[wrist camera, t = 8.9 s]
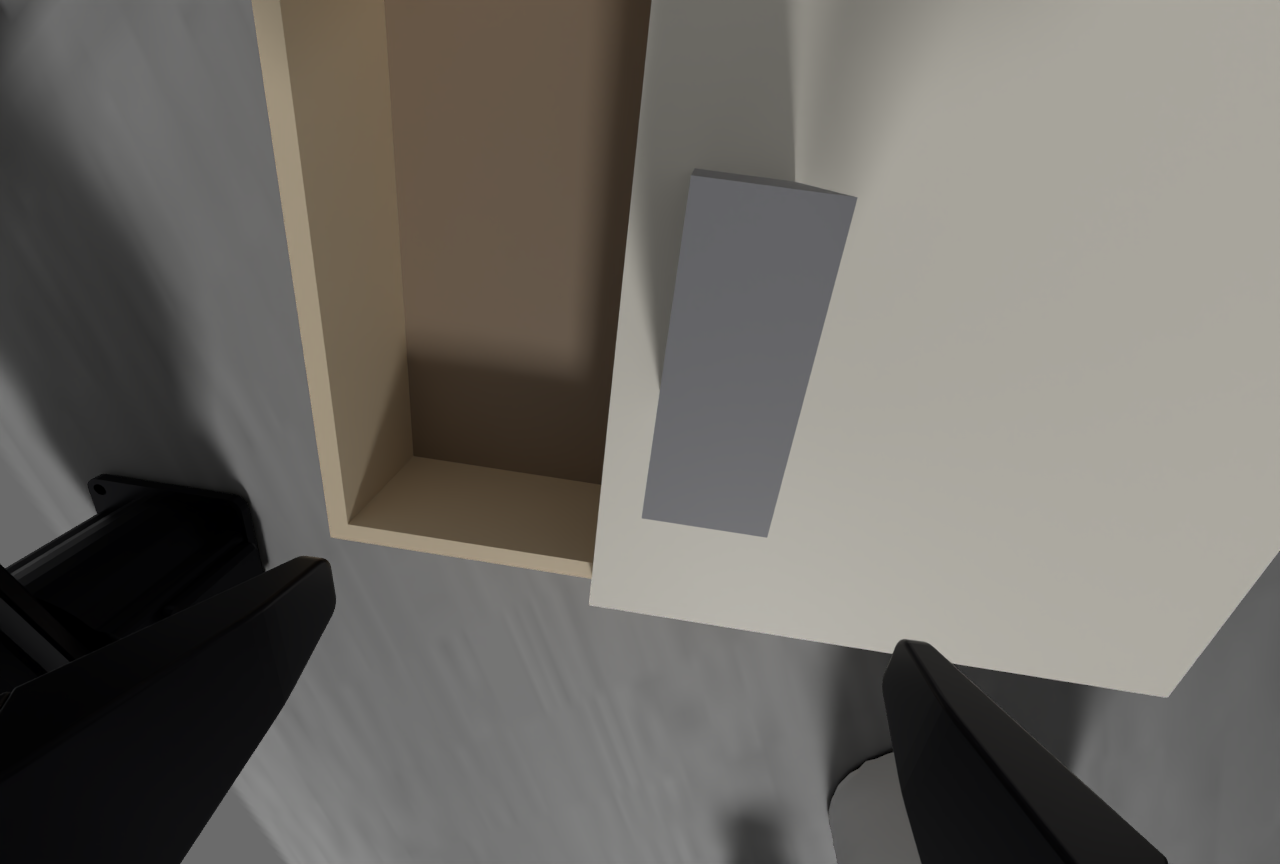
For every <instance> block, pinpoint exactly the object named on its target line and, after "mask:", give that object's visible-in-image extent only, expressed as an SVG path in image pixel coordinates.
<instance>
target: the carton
mask: <svg viewBox="0 0 1280 864" xmlns="http://www.w3.org/2000/svg"><path fill="white" fill-rule="evenodd" d="M651 2H652V0H252V7H253V14H254V21H255V27H256V34H257V41H258V48H259V55H260V61H261V68H262V75H263V82H264V88H265V95H266V102H267V109H268V115H269V122H270V129H271V136H272V143H273V149H274V156H275V163H276V170H277V176H278V183H279V190H280V197H281V204H282V210H283V217H284V224H285V231H286V237H287V244H288V251H289V258H290V264H291V271H292V278H293V285H294V292H295V298H296V305H297V312H298V319H299V325H300V332H301V339H302V346H303V353H304V359H305V366H306V373H307V380H308V386H309V393H310V400H311V407H312V414H313V420H314V427H315V434H316V441H317V447H318V454H319V461H320V468H321V474H322V481H323V488H324V495H325V502H326V508H327V515H328V522H329V529H330V535H331V538H338V539H344V540H350V541H357V542H363V543H369V544H376V545H382V546H388V547H395V548H401V549H407V550H413V551H420V552H426V553H432V554H439V555H445V556H451V557H458V558H464V559H470V560H476V561H483V562H489V563H495V564H502V565H508V566H514V567H521V568H527V569H533V570H540V571H546V572H552V573H558V574H565V575H571V576H577V577H584V578H590V579H592V571H593V561H594V551H595V542H596V532H597V522H598V513H599V503H600V493H601V484H602V474H603V465H604V455H605V445H606V436H607V426H608V416H609V407H610V397H611V387H612V378H613V368H614V359H615V349H616V339H617V330H618V320H619V310H620V301H621V291H622V281H623V272H624V262H625V253H626V243H627V233H628V224H629V214H630V204H631V195H632V185H633V175H634V166H635V156H636V147H637V137H638V127H639V118H640V108H641V98H642V89H643V79H644V69H645V60H646V50H647V41H648V31H649V21H650V12H651Z"/></svg>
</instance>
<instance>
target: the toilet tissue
mask: <svg viewBox="0 0 1280 864" xmlns="http://www.w3.org/2000/svg"><path fill="white" fill-rule="evenodd" d="M829 825H830V829H831V833H832V838H833V846H834V849H835V854H836V859H837V864H921V861H920V857H919V854H918V850H917V847H916V844H915V840H914V837H913V833H912V830H911V826H910V823H909V819H908V816H907V812H906V809H905V805H904V801H903V797H902V793H901V788H900V784H899V779H898V774H897V768H896V763H895V757H894V752H892V753H889V754H886V755H883V756H881V757H879V758H877V759H873V760H869V761H865V763H864V764H863V765H862V766H861V767H860V768H859V769H857V770H855V771H853V772H851V773H850V774H849V775H848V776H847V777H846V778H845V779H844V780H843V781H842V782H841V783H840V784H839V785H838V787H837V789H836V791H835V794H834V796H833V797H832V800H831V804H830V808H829Z"/></svg>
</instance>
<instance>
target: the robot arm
mask: <svg viewBox="0 0 1280 864" xmlns="http://www.w3.org/2000/svg"><path fill="white" fill-rule="evenodd" d="M88 489H89V492H90V494H91V497H92V500H93V503H94V505H95V508H96V511H97V515H95V516H93V517H91V518H90V519H88V520H86V521H85V522H83V523H81V524H80V525H78V526H76V527H74V528H73V529H71V530H69V531H68V532H66V533H64V534H63V535H61V536H59V537H58V538H56V539H54V540H52V541H51V542H49V543H47V544H46V545H44V546H42V547H41V548H39V549H37V550H36V551H34V552H32V553H30V554H29V555H27V556H25V557H24V558H22V559H20V560H19V561H17V562H15V563H13V564H12V565H10V566H9V567H7V568H4V567H3V566H2V565H0V864H180V863H181V862H182V860H183V859H184V857H185V856H186V854H187V853H188V851H189V850H190V848H191V847H192V845H193V844H194V842H195V840H196V839H197V838H198V836H199V835H200V833H201V831H202V830H203V828H204V827H205V825H206V824H207V822H208V821H209V819H210V818H211V816H212V815H213V813H214V812H215V810H216V809H217V807H218V806H219V804H220V803H221V801H222V800H223V798H224V796H225V795H226V793H227V792H228V790H229V789H230V787H231V786H232V784H233V783H234V781H235V780H236V778H237V777H238V775H239V774H240V772H241V771H242V769H243V768H244V766H245V765H246V763H247V762H248V760H249V759H250V757H251V755H252V754H253V752H254V751H255V749H256V748H257V746H258V745H259V743H260V742H261V740H262V739H263V737H264V736H265V734H266V733H267V731H268V730H269V728H270V727H271V725H272V724H273V722H274V720H275V719H276V717H277V716H278V714H279V713H280V711H281V709H282V708H283V706H284V705H285V703H286V701H287V699H288V698H289V696H290V694H291V692H292V691H293V689H294V687H295V685H296V683H297V681H298V679H299V677H300V675H301V674H302V672H303V670H304V668H305V666H306V664H307V662H308V660H309V658H310V656H311V655H312V653H313V651H314V649H315V647H316V645H317V643H318V641H319V639H320V637H321V636H322V634H323V632H324V630H325V628H326V626H327V624H328V622H329V620H330V618H331V616H332V614H333V612H334V609H335V605H336V595H335V589H334V583H333V576H332V570H331V566H330V563H329V562H328V561H327V560H326V559H323V558H317V557H309V556H300V557H297V558H294V559H292V560H290V561H288V562H286V563H284V564H281V565H279V566H277V567H275V568H273V569H271V570H268V571H266V572H264V573H263V570H262V565H261V561H260V556H259V551H258V547H257V542H256V538H255V533H254V529H253V524H252V520H251V515H250V510H249V506H248V504H247V502H246V501H245V500H244V499H243V498H242V497H240V496H238V495H235V494H228V493H222V492H215V491H209V490H203V489H196V488H190V487H184V486H177V485H171V484H164V483H158V482H152V481H145V480H139V479H133V478H126V477H120V476H113V475H107V474H101V475H99V476H97V477H95V478H93V479H91V480H90V481H89V482H88ZM233 507H234V508H233ZM882 689H883V696H884V702H885V707H886V713H887V718H888V724H889V729H890V735H891V740H892V746H893V752H894V757H895V763H896V768H897V774H898V779H899V784H900V788H901V793H902V797H903V801H904V805H905V809H906V812H907V816H908V819H909V823H910V826H911V830H912V833H913V837H914V840H915V844H916V847H917V850H918V854H919V857H920V861H921V864H1168V861H1167V859H1166V857H1165V856H1164V855H1163V854H1161V853H1160V852H1159V851H1158V850H1157V849H1156V848H1155V847H1154V846H1153V845H1152V844H1150V843H1149V842H1148V841H1147V840H1146V839H1145V838H1144V837H1143V836H1142V835H1140V834H1139V833H1138V832H1137V831H1136V830H1135V829H1134V828H1133V827H1132V826H1131V825H1129V824H1128V823H1127V822H1126V821H1125V820H1124V819H1123V818H1122V817H1121V816H1120V815H1118V814H1117V813H1116V812H1115V811H1114V810H1113V809H1112V808H1111V807H1110V806H1109V805H1107V804H1106V803H1105V802H1104V801H1103V800H1102V799H1101V798H1100V797H1099V796H1097V795H1096V794H1095V793H1094V792H1093V791H1092V790H1091V789H1090V788H1089V787H1088V786H1086V785H1085V784H1084V783H1083V782H1082V781H1081V780H1080V779H1079V778H1078V777H1077V776H1075V775H1074V774H1073V773H1072V772H1071V771H1070V770H1069V769H1068V768H1067V767H1066V766H1064V765H1063V764H1062V763H1061V762H1060V761H1059V760H1058V759H1057V758H1056V757H1054V756H1053V755H1052V754H1051V753H1050V752H1049V751H1048V750H1047V749H1046V748H1045V747H1043V746H1042V745H1041V744H1040V743H1039V742H1038V741H1037V740H1036V739H1035V738H1034V737H1032V736H1031V735H1030V734H1029V733H1028V732H1027V731H1026V730H1025V729H1024V728H1023V727H1021V726H1020V725H1019V724H1018V723H1017V722H1016V721H1015V720H1014V719H1013V718H1011V717H1010V716H1009V715H1008V714H1007V713H1006V712H1005V711H1004V710H1003V709H1002V708H1000V707H999V706H998V705H997V704H996V703H995V702H994V701H993V700H992V699H991V698H989V697H988V696H987V695H986V694H985V693H984V692H983V691H982V690H981V689H980V688H978V687H977V686H976V685H975V684H974V683H973V682H972V681H971V680H970V679H968V678H967V677H966V676H965V675H964V674H963V673H962V672H961V671H960V670H959V669H957V668H956V667H955V666H954V665H953V664H952V663H951V662H950V661H949V660H948V659H946V658H945V657H944V656H943V655H942V654H941V653H940V652H939V651H938V650H937V649H935V648H934V647H933V646H932V645H931V644H929V643H927V642H924V641H917V640H909V639H902V640H900V641H899V642H898V643H897V644H896V646H895V648H894V651H893V653H892V656H891V658H890V661H889V663H888V666H887V668H886V671H885V673H884V676H883V683H882Z"/></svg>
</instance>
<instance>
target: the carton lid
mask: <svg viewBox="0 0 1280 864" xmlns="http://www.w3.org/2000/svg"><path fill="white" fill-rule="evenodd" d="M1279 551H1280V0H652V2H651V12H650V21H649V31H648V41H647V50H646V60H645V69H644V79H643V89H642V98H641V108H640V118H639V127H638V137H637V147H636V156H635V166H634V175H633V185H632V195H631V204H630V214H629V224H628V233H627V243H626V253H625V262H624V272H623V281H622V291H621V301H620V310H619V320H618V330H617V339H616V349H615V359H614V368H613V378H612V387H611V397H610V407H609V416H608V426H607V436H606V445H605V455H604V465H603V474H602V484H601V493H600V503H599V513H598V522H597V532H596V542H595V551H594V561H593V571H592V580H591V590H590V599H589V605H591V606H597V607H603V608H610V609H616V610H622V611H628V612H634V613H641V614H647V615H653V616H659V617H666V618H672V619H678V620H684V621H691V622H697V623H703V624H709V625H716V626H722V627H728V628H734V629H741V630H747V631H753V632H759V633H766V634H772V635H778V636H784V637H791V638H797V639H803V640H809V641H816V642H822V643H828V644H834V645H840V646H847V647H853V648H859V649H865V650H872V651H878V652H884V653H890V654H892V653H893V651H894V648H895V646H896V644H897V643H898V642H899V641H900V640H902V639H909V640H917V641H924V642H927V643H929V644H931V645H932V646H933V647H934V648H935V649H937V650H938V651H939V652H940V653H941V654H942V655H943V656H944V657H945V658H946V659H948V660H949V661H950V662H951V663H953V664H959V665H965V666H972V667H978V668H984V669H990V670H997V671H1003V672H1009V673H1015V674H1022V675H1028V676H1034V677H1040V678H1046V679H1053V680H1059V681H1065V682H1071V683H1078V684H1084V685H1090V686H1096V687H1103V688H1109V689H1115V690H1121V691H1128V692H1134V693H1140V694H1146V695H1153V696H1159V697H1165V698H1168V696H1169V695H1170V694H1171V692H1172V691H1173V690H1174V689H1175V687H1176V686H1177V685H1178V683H1179V682H1180V681H1181V679H1182V678H1183V677H1184V675H1185V674H1186V673H1187V671H1188V670H1189V669H1190V668H1191V666H1192V665H1193V664H1194V662H1195V661H1196V660H1197V658H1198V657H1199V656H1200V654H1201V653H1202V652H1203V650H1204V649H1205V648H1206V647H1207V645H1208V644H1209V643H1210V641H1211V640H1212V639H1213V637H1214V636H1215V635H1216V633H1217V632H1218V631H1219V629H1220V628H1221V627H1222V625H1223V624H1224V623H1225V622H1226V620H1227V619H1228V618H1229V616H1230V615H1231V614H1232V612H1233V611H1234V610H1235V608H1236V607H1237V606H1238V604H1239V603H1240V602H1241V601H1242V599H1243V598H1244V597H1245V595H1246V594H1247V593H1248V591H1249V590H1250V589H1251V587H1252V586H1253V585H1254V583H1255V582H1256V581H1257V580H1258V578H1259V577H1260V576H1261V574H1262V573H1263V572H1264V570H1265V569H1266V568H1267V566H1268V565H1269V564H1270V562H1271V561H1272V560H1273V559H1274V557H1275V556H1276V555H1277V553H1278V552H1279Z"/></svg>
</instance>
